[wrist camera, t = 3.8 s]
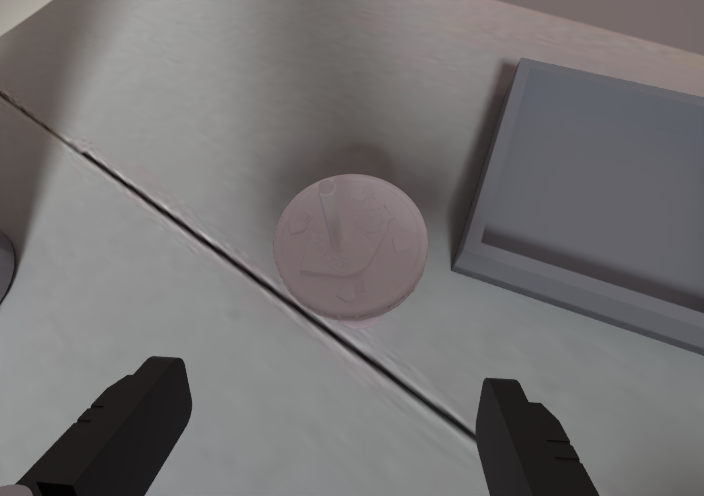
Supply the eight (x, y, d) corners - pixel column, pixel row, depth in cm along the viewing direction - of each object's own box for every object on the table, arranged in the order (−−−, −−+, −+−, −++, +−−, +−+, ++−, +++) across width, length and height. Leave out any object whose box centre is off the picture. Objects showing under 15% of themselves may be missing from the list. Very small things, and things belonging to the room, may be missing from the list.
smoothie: (290, 290, 24) (197, 161, 11) (368, 236, 26) (363, 66, 13) (347, 373, 22) (311, 329, 9) (429, 310, 23) (499, 193, 10)
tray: (451, 270, 24) (463, 250, 21) (505, 95, 30) (521, 57, 27) (723, 362, 21) (785, 354, 18) (726, 148, 27) (775, 113, 24)
